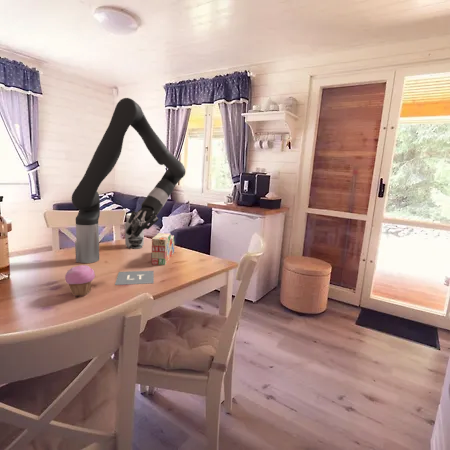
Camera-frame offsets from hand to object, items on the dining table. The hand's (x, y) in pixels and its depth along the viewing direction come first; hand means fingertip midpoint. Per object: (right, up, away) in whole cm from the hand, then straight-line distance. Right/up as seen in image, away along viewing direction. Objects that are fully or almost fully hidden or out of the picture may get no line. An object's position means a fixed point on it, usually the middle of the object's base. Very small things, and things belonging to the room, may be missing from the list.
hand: (131, 234), depth 111 cm
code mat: (0, -17, +5) cm, 18 cm away
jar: (-14, -8, +50) cm, 53 cm away
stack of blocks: (+6, -13, +32) cm, 35 cm away
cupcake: (-13, -20, -13) cm, 27 cm away
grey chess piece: (+1, -5, +3) cm, 6 cm away
